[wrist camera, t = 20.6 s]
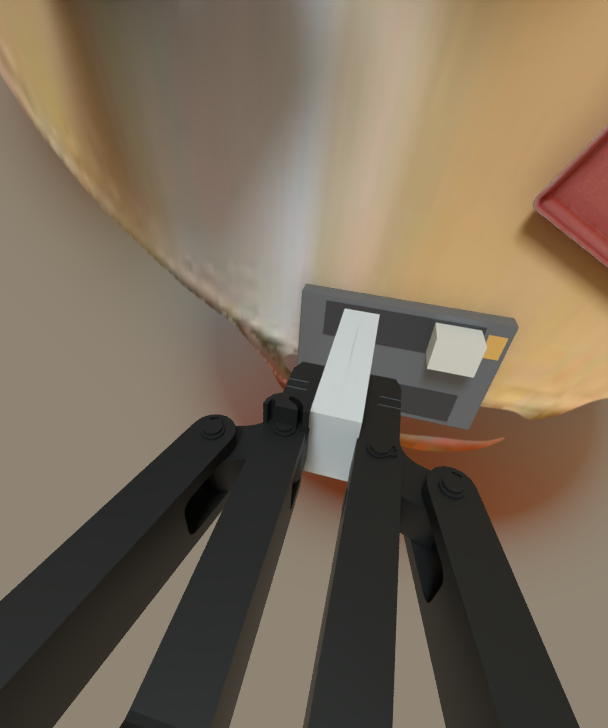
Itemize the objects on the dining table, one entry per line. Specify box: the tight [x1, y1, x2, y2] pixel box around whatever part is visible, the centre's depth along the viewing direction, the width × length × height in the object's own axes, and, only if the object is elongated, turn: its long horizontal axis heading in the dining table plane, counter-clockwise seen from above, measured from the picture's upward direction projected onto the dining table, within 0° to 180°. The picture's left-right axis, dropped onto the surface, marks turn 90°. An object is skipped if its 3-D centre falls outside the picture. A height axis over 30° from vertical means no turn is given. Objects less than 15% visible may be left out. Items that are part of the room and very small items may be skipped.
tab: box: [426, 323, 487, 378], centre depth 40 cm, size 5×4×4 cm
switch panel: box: [297, 284, 519, 430], centre depth 46 cm, size 24×16×2 cm, turn 86°
